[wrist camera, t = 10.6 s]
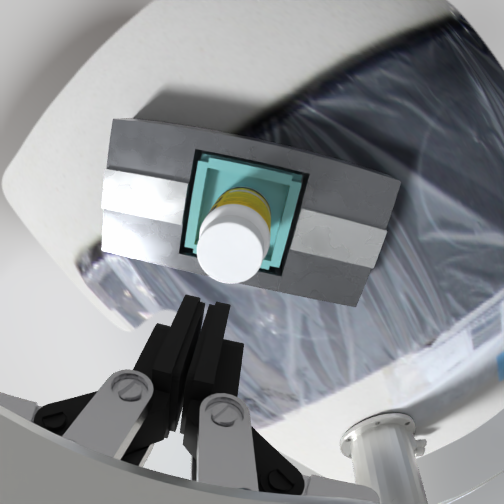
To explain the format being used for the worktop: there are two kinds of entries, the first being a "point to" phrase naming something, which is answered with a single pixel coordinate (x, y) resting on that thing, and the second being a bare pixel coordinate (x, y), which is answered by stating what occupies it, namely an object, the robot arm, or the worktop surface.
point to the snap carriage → (249, 175)
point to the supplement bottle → (235, 235)
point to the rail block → (201, 140)
